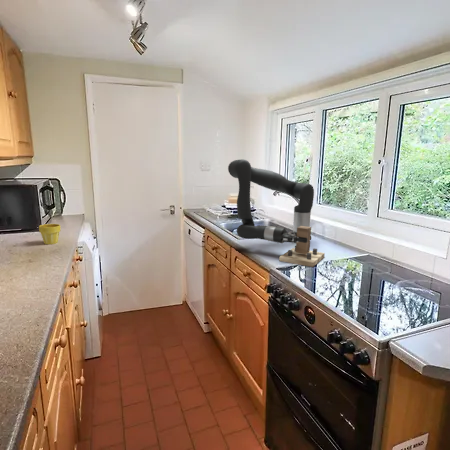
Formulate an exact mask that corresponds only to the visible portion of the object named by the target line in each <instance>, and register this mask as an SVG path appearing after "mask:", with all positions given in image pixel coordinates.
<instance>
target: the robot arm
mask: <svg viewBox="0 0 450 450" xmlns="http://www.w3.org/2000/svg"><path fill="white" fill-rule="evenodd" d="M227 170H228V173H229V175H230V176H231V177H233V178H235V179H237V180H238V194H237V198H236V199H237V200H236V211H237V217H238V219H240V220H241V222H242V224H240V225H239V226H238V227H237V228H236V234H237V236H239V237H240V238H242V239H247V240H249V239H250V240H253V239H255V240H256V239H257V240H263V241H267V242H273V243H278V244H284V243H292V244H293V243H295V244H296V242H303V243H307V238H303V237H298V236H297V228H298V227H300V226H306V227H311V213H312V208H313V205H314V198H315V197H314V196H315V189H314V186H313V185H312V184H311V183H306V182H298V181H293V180H290V179H287V178H286V177H285V176H284V175H282V174H280V173H277V172H275V171H272V170H268V169H263V168H257V167H253V166H251V163H250V162H249V160H247V159H235V160H233V161H230V163H229V164H228V166H227ZM252 183H254V184H256V185H258V186H261V187H263V188H265V189H269V190H271V191H275V192H277V193H278V192H279V193H284V194H287V195H289V196H290V197H293V198H295V199H297V200H299V202H298V204H297V205H295V206H294V207H293V226H292V227H293V228H292V231H287V228H286V227H280V226H271V225H255V222H254V219H253V216H252V207H251V206H252V205H251V184H252ZM311 240H312V235H311V236H310V241H311Z"/></svg>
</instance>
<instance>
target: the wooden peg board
mask: <svg viewBox="0 0 450 450" xmlns="http://www.w3.org/2000/svg"><path fill="white" fill-rule="evenodd" d="M324 258H325V252H320V251H318V248H312V250H310V251H309V252H308V253H307V254H302V253H296V245H295V246H294V247H292V248H290V249H288V250H287V251H286V252H284V253H283V254H281V255H279V258H278V259H279V260H278V261H279V262H283V263H284V262H285V263H289V264H295V265H300V266H304V267H312V268H314V267H315V266H316V265H317V264H318V263H319V262H320V261H322V260H323V259H324Z"/></svg>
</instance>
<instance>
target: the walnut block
mask: <svg viewBox="0 0 450 450" xmlns="http://www.w3.org/2000/svg"><path fill="white" fill-rule="evenodd" d="M297 236H298V237H303V238H307V243H303V242H296V243H295V246H296V253H302V254H307V253H308V252H309V251H311V250H310V249H311V248H310V247H311V240H310V236H311V237H312V226H310V227H306V226H300V227H298V228H297Z"/></svg>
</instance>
